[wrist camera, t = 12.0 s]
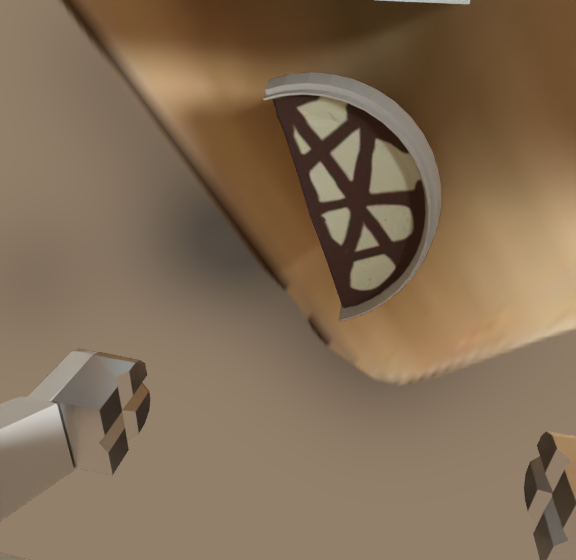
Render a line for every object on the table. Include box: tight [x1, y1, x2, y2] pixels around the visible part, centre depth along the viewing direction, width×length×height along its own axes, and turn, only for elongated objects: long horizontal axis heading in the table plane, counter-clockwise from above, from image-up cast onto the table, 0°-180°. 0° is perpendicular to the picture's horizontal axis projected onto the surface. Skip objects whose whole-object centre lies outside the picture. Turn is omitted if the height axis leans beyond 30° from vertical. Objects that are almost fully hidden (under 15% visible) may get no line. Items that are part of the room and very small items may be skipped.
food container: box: [263, 72, 442, 321], centre depth 26 cm, size 12×6×10 cm, turn 19°
